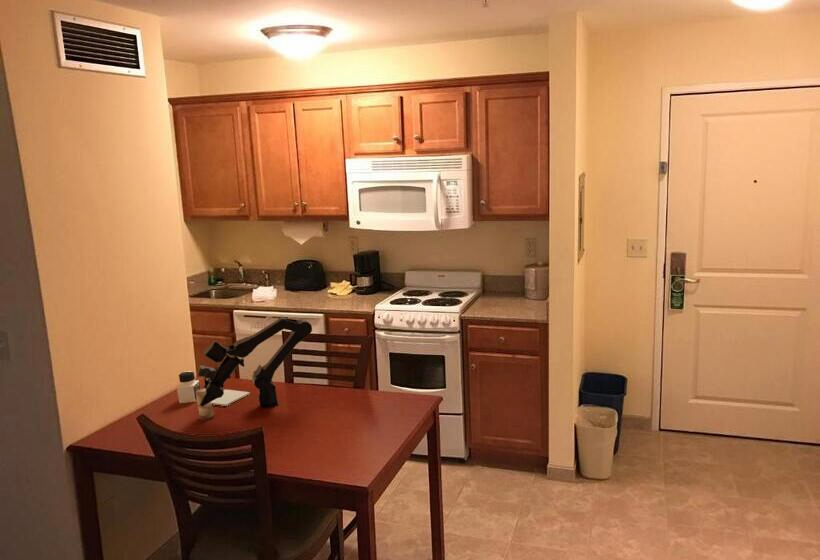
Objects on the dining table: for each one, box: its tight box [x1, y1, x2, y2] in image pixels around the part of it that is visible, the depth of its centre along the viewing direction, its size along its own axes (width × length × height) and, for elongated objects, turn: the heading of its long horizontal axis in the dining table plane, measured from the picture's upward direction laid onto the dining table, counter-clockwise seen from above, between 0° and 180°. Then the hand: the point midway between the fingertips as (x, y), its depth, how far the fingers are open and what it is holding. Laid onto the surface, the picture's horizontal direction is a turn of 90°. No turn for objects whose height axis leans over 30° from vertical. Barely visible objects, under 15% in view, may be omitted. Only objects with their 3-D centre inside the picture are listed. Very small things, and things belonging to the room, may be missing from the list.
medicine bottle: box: [176, 370, 201, 404], centre depth 278 cm, size 7×7×12 cm
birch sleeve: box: [196, 388, 215, 421], centre depth 255 cm, size 5×5×11 cm
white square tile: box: [211, 388, 251, 407], centre depth 275 cm, size 14×14×1 cm
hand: (200, 402), depth 254 cm, fingers open, 8 cm apart
